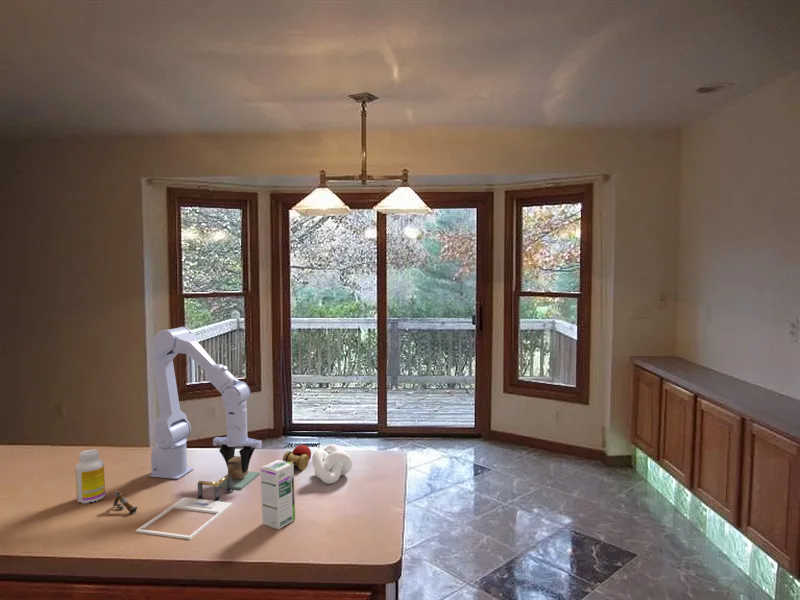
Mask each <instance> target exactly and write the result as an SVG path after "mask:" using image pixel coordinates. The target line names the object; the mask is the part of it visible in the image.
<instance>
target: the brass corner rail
mask: <svg viewBox="0 0 800 600" xmlns="http://www.w3.org/2000/svg"><path fill="white" fill-rule="evenodd" d="M225 480H227V488H225V492H224V493H226V494H232V493H233V492H234V489H231V475H230V474H228V473H227V474H226V475H224V476H223V477H222V478H221V479H219V480H218V481H214V482H213V481H205V480H198V482H197V497H196V498H195V499H204V500H205V496H204V493H203V492H204V491H203V486H208V487H214V498H213V500H212V501H221V502H222V498H221V497H220V487H219V485H220V484H221V483H223V482H224V481H225Z"/></svg>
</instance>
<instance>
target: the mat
mask: <svg viewBox="0 0 800 600" xmlns="http://www.w3.org/2000/svg"><path fill="white" fill-rule="evenodd" d="M259 475H260V476H261V472H260V471H258V472H257V471H249V470H248V474H247V475H245V476H244V477H243V478H242V479H234V478H231V489H233V490H240V489H241V490H243V489H244V488H245V487H246V486H247V485H249V484H250V483H252V481H255V479H256V478H258V477H259ZM220 488H223V489H227V480H225V481H224V482H223V483H221V484H220V485H219V489H220ZM242 488H243V489H242Z"/></svg>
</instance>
